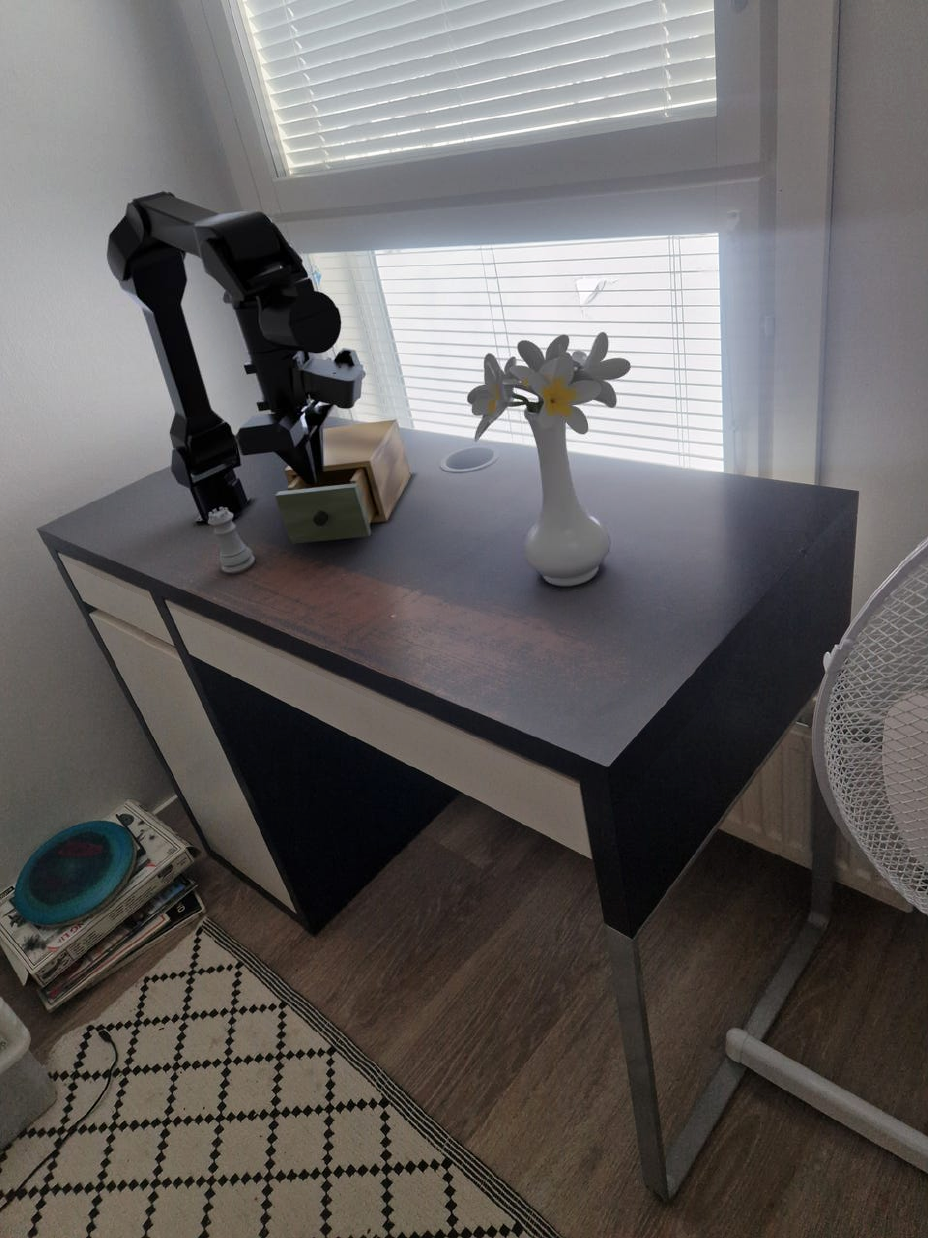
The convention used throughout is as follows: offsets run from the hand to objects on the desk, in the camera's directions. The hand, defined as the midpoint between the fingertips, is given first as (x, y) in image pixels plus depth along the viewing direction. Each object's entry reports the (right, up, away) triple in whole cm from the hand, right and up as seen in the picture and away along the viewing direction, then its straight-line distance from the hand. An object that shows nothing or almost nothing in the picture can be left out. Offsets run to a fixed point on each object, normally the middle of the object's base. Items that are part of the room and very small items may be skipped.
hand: (315, 478), depth 99 cm
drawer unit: (+2, 0, +22) cm, 22 cm away
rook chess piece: (-12, -10, +13) cm, 20 cm away
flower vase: (+29, -11, -5) cm, 31 cm away
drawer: (+1, -3, +16) cm, 16 cm away
